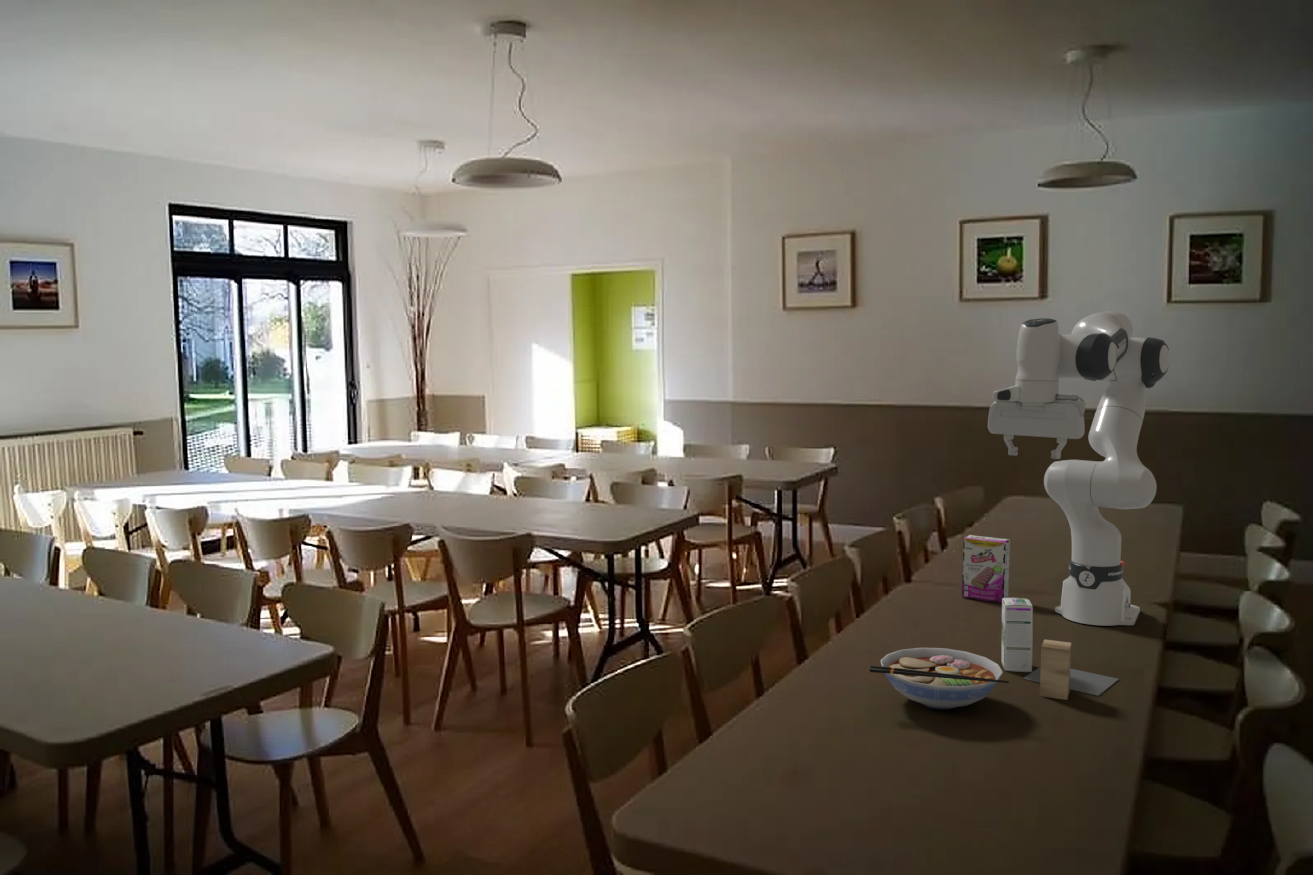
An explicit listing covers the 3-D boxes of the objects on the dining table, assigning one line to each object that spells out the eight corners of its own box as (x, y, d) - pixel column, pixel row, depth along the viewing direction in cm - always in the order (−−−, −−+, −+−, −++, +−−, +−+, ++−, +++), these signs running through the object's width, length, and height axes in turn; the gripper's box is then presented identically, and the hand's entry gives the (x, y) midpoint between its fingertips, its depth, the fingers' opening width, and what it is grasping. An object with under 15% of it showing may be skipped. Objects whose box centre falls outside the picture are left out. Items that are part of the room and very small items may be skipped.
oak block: (1042, 687, 204) (1044, 639, 203) (1069, 691, 202) (1071, 642, 201) (1039, 695, 200) (1041, 646, 199) (1067, 699, 198) (1068, 650, 197)
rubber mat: (1045, 664, 218) (1045, 663, 218) (1118, 679, 208) (1118, 678, 208) (1023, 679, 209) (1023, 678, 209) (1098, 696, 199) (1098, 695, 199)
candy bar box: (961, 598, 271) (962, 537, 269) (966, 593, 275) (967, 534, 273) (1004, 604, 265) (1005, 542, 263) (1008, 599, 269) (1010, 538, 267)
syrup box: (1032, 672, 213) (1034, 605, 211) (1003, 671, 214) (1004, 604, 213) (1028, 663, 219) (1030, 597, 217) (999, 662, 220) (1001, 596, 218)
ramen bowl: (1008, 689, 204) (1009, 649, 203) (1007, 733, 182) (1009, 688, 181) (881, 676, 212) (881, 638, 211) (866, 717, 190) (867, 674, 189)
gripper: (1090, 394, 216) (1088, 459, 217) (997, 391, 230) (995, 452, 231) (1080, 396, 211) (1077, 462, 213) (985, 392, 225) (983, 454, 226)
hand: (1034, 457), depth 222 cm, fingers open, 8 cm apart
